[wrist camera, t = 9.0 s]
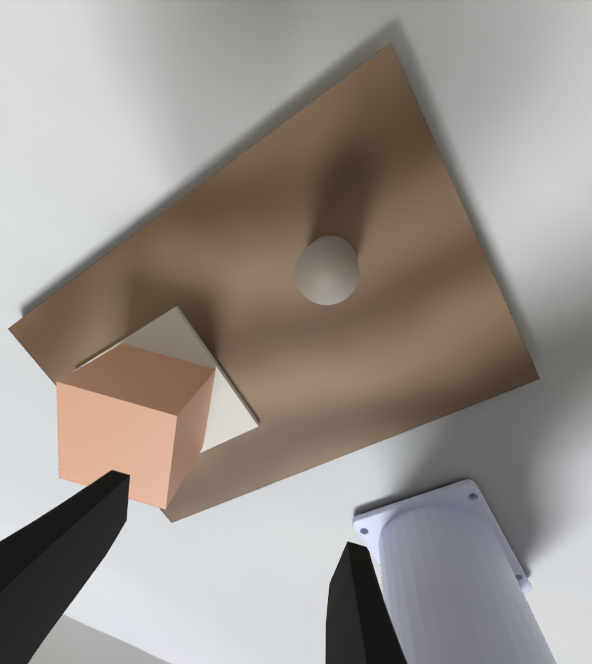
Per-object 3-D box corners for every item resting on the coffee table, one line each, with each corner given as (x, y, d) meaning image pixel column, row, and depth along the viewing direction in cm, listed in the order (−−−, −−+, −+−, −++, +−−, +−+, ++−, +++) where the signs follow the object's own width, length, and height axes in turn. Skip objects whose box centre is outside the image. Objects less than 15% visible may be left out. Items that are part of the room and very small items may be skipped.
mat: (259, 423, 19) (258, 426, 19) (157, 470, 22) (155, 473, 21) (177, 305, 18) (174, 307, 17) (75, 369, 20) (72, 372, 20)
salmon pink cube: (202, 447, 20) (165, 509, 16) (118, 423, 20) (59, 477, 16) (215, 369, 18) (177, 416, 14) (121, 343, 18) (56, 381, 14)
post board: (529, 369, 17) (589, 420, 13) (178, 510, 24) (143, 574, 20) (387, 54, 14) (407, -16, 10) (23, 323, 20) (-61, 351, 16)
